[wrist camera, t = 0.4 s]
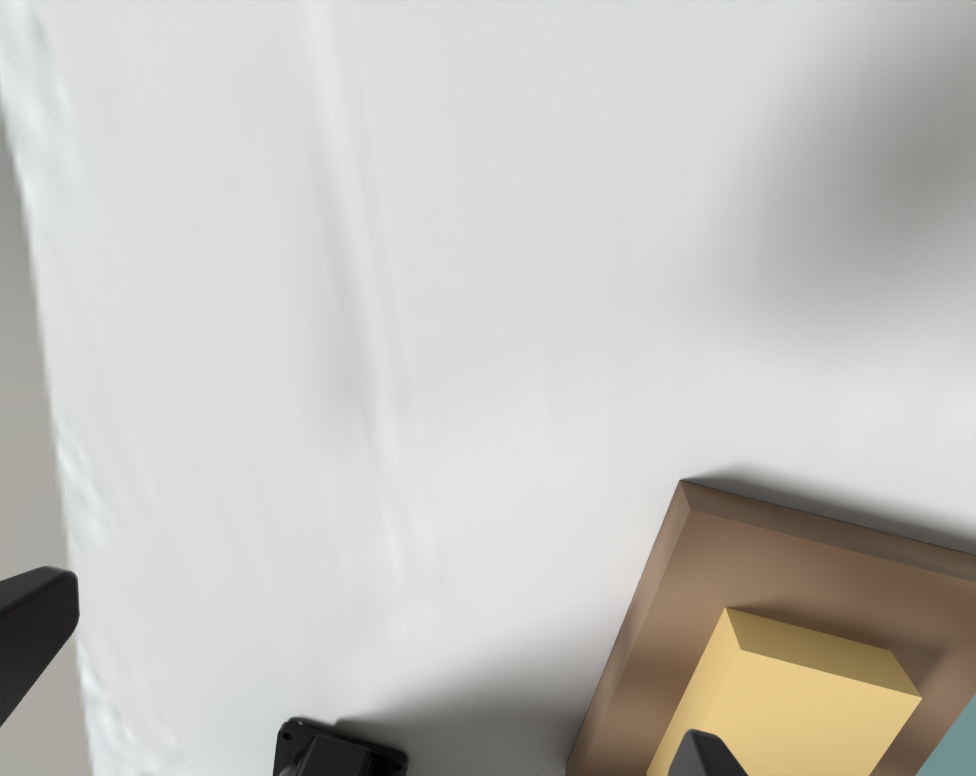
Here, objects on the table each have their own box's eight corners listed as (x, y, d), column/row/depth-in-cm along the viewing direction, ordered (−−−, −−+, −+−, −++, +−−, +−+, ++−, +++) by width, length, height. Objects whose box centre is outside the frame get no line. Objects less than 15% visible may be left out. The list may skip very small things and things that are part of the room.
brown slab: (816, 835, 27) (835, 884, 25) (565, 766, 27) (565, 810, 26) (1001, 562, 21) (1043, 600, 19) (679, 480, 22) (690, 509, 20)
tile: (788, 811, 24) (807, 865, 22) (646, 772, 24) (653, 822, 22) (890, 650, 21) (922, 697, 19) (725, 607, 21) (740, 649, 19)
